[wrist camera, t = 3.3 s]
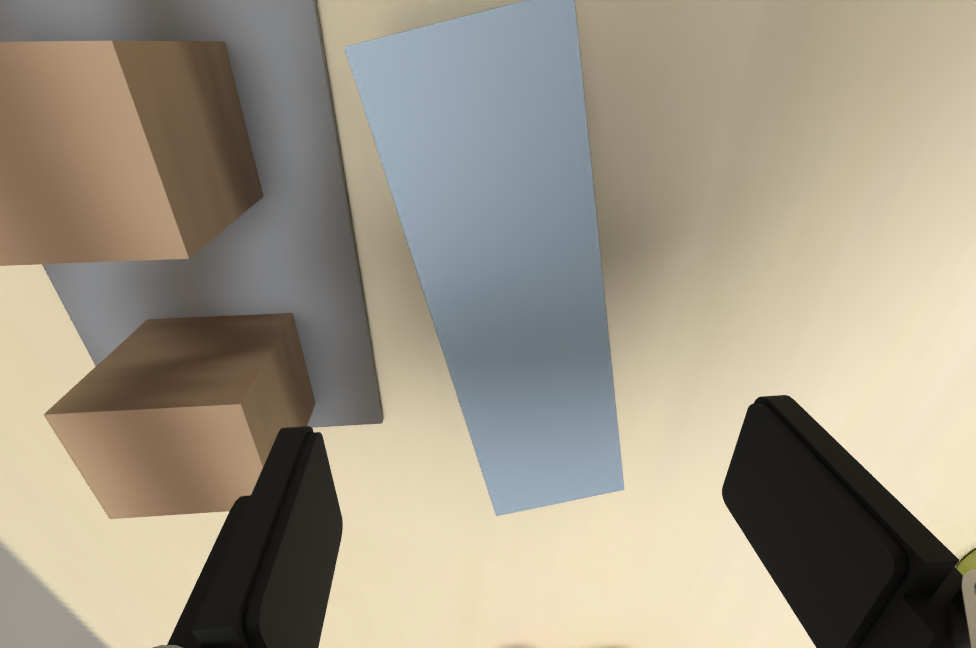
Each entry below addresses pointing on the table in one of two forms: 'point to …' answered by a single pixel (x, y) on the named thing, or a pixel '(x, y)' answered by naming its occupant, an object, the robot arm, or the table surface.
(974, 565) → the plant pot
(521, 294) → the lintel
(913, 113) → the table surface
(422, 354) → the table surface
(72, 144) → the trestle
